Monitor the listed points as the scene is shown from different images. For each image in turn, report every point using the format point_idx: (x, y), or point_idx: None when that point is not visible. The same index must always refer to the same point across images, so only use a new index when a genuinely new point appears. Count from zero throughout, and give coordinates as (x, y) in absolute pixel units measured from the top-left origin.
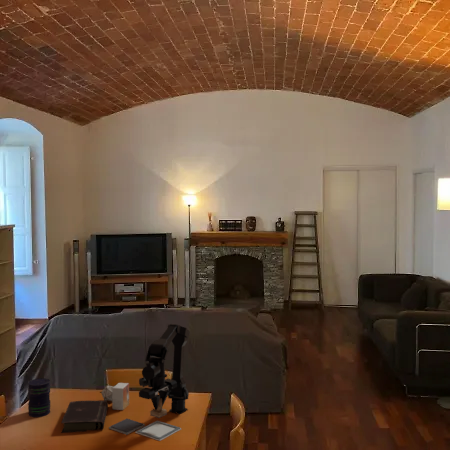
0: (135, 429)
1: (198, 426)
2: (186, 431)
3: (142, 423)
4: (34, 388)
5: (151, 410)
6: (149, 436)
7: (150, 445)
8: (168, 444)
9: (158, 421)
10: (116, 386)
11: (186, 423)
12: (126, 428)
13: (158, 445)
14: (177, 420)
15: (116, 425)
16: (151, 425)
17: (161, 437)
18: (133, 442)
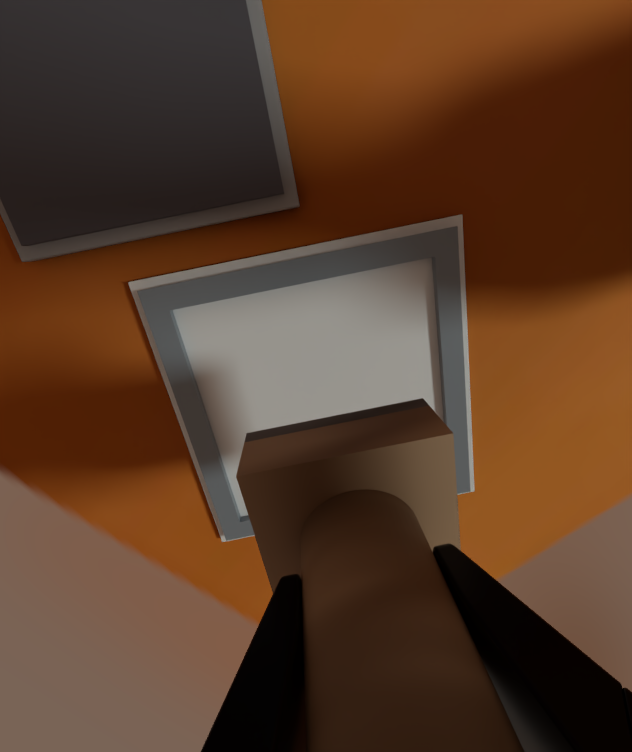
0: (153, 235)
1: (580, 526)
2: (464, 534)
3: (280, 180)
4: None
5: (264, 474)
6: (192, 446)
7: (128, 547)
8: (240, 600)
9: (446, 258)
10: None
11: (578, 436)
12: (50, 158)
13: (177, 576)
14: (590, 338)
15: None
16: (339, 276)
17: (248, 532)
18: (29, 435)
